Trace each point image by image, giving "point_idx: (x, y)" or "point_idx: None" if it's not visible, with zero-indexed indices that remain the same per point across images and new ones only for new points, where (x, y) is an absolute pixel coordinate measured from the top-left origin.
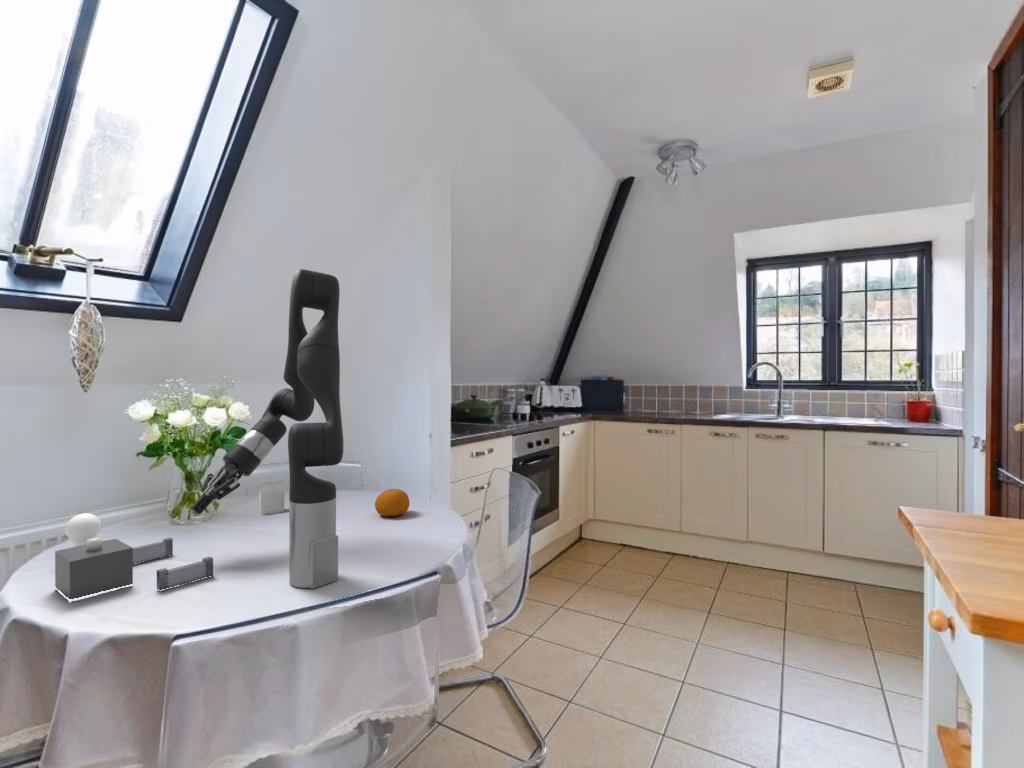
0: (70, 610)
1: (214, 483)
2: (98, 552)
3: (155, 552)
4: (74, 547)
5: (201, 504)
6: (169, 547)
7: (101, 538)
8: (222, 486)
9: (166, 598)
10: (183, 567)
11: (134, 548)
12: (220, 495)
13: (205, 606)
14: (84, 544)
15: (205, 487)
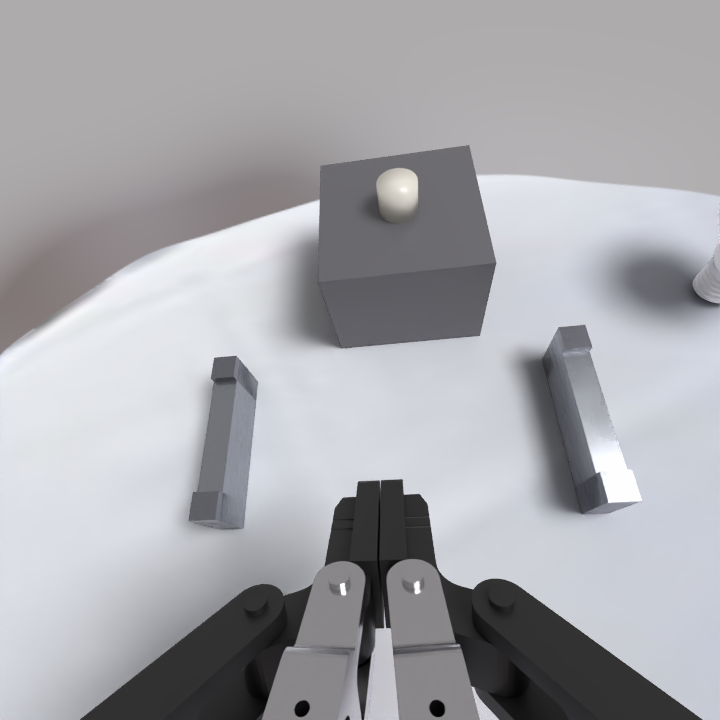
0: (296, 244)
1: (289, 671)
2: (350, 213)
3: (575, 444)
4: (470, 176)
5: (332, 525)
6: (591, 495)
7: (391, 195)
8: (120, 690)
9: (183, 384)
10: (214, 424)
11: (578, 367)
12: (244, 679)
13: (53, 431)
14: (717, 250)
15: (493, 631)
